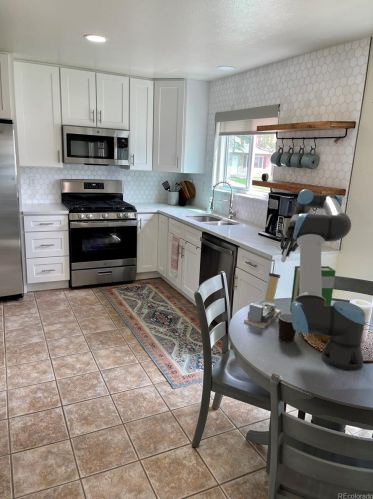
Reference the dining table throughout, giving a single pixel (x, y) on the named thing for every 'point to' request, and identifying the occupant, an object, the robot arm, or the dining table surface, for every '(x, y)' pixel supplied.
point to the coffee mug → (286, 328)
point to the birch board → (262, 322)
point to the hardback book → (326, 281)
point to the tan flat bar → (272, 287)
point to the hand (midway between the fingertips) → (282, 260)
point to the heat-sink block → (261, 312)
